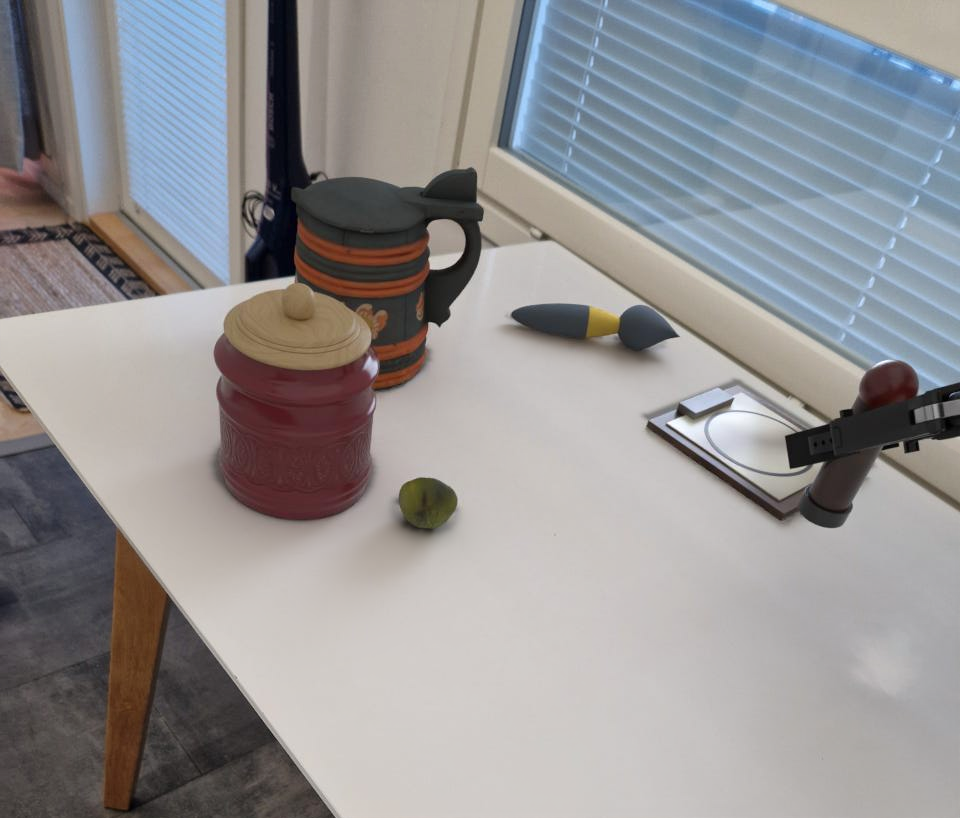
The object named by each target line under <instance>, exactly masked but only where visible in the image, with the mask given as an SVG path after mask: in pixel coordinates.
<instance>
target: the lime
mask: <svg viewBox="0 0 960 818" xmlns="http://www.w3.org/2000/svg"><path fill="white" fill-rule="evenodd" d="M458 501H459V499H458V495H457V494H456V492H455V490H454V489H453V488H452V487H451V485H448V484H447V483H445V482H444V481H441V480H440V479H437V478H434V477H423V476H422V477H421V476H420V477H416V478H414V479H412V480H408V481H406V482H405V483H403V484H402V485H401V487H400V489H399V493H398V506H399V508H400V511H401V513H402V515H403V518H404V519H405V520H406V521H407V522H409V524H411V525H412V526H414V527H416V528H419V529H435V528H438V527H440V526H442V525H444V524H445V523H447V521H449V519H451V517H452V515H453V514H454V512H455V511H456V509H457V506H458V503H459V502H458Z"/></svg>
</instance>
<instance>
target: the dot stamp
mask: <svg viewBox="0 0 960 818" xmlns="http://www.w3.org/2000/svg"><path fill="white" fill-rule="evenodd" d="M919 390H920V380H919V376H918V373H917V371H916V370H915V369H914V367H913V366H911V365H910V364H909V363H908V362H906V361H903V360H900V359H894V358H893V359H892V358H891V359H885V360H881V361H879V362H876V363H875V364H873V365H872V366H870V367H869V368H868V369H867V370H866V372H864V374H863V376H862V377H861V379H860V382H859V388H858V394H857V396H856V398H855V400H854V402H853V404H852V406H851V408H850V409H853V414H854V415H856V414H859V413H863V412H866V411H870V410H873V409H877V408H880V407H884V406H887V405H891V404H894V403H897V402H901V401H904V400H908V399H911V398H913V397H916V396H918V393H919ZM882 448H883V446H881V447H876V448H872V449H868V450H863V451H860V454H856V455H852V456H847V457H843V458H838V459H834V460H830V461H825V462H823V464H822V466H821V468H820V470H819V472H818V474H817V475H816V477H815V479H814V481H813V483H812V484H811V485H809V486H807V487H806V489H805V490H804V492H803V494H802V496H801V498H800V500H799V502H798V512H799V514H800V515H801V516H802V517H803V518H804V519H805V520H807V521H808V522H810V523H812V524H813V525H815V526H818V527H821V528H826V529H837V528H840V527H843V525H844V524H845V523H846V521H847V519H848V518H849V516H850V514H851V513H852V511H853V508H854V504H853V501H854V499H855V498H856V496H857V494H858V492H859V490H860V489H861V487H862V485H863V484H864V481H865V480H866V478H867V477H868V475H869V473H870V471H871V469H872V467H873V466H874V464H875V463H876V461H877V459H878V457H879V455H880V453H881V452H882V451H881V450H882Z"/></svg>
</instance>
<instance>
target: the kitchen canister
mask: <svg viewBox="0 0 960 818" xmlns="http://www.w3.org/2000/svg"><path fill="white" fill-rule="evenodd" d="M222 325H223V326H222V327H223V333H222V334H221V335H220V336H219V338H218V339H217V340H216V343H215V344H214V348H213V359H214V363H215V365H216V368H217V369H218V371H219V372H220V374H221V375H220V376H219V377H218V379H217V382H216V388H215V395H216V399H217V403H218V411H219V412H218V414H219V430H220V431H219V432H220V433H219V434H220V445H219V452H218V455H219V466H220V470H221V474H222V475H223V479H224V483H225V485H226V487H227V489H228V490H229V492H230V493H231V494H232V495H233V496H234V497H235V499H236V500H238V501H239V502H241V503H242V504H244V505H245V506H246V507H249V508H250V509H252V510H254V511H257V512H260V513H262V514H265V515H269V516H272V517H276V518H281V519H289V520H290V519H291V520H311V519H319V518H320V519H321V518H325V517H328V516H333V515H335V514H338V513H341V512H343V511H345V510H347V509H348V508H349V507H351V506H352V505H354V504H355V503H356V502H358V500H359V499H360V498H361V496H362V495H363V494H364V493H365V490H366V487H367V483H368V481H369V479H370V476H371V471H372V468H371V467H372V454H371V448H372V447H371V446H372V435H373V424H374V423H373V422H374V413H375V411H376V408H377V395H376V391H375V389H373V387H372V384H373V382H374V381H375V380H376V378H377V376H378V373H379V369H380V362H379V358H378V355H377V353H376V351H375V350H374V348H373V347H372V346H371V345H370V344H371V331H370V329H369V326H368V325H367V323H366V322H365V321H364V320H363V319H362V318H361V317H360V316H359V315H358V314H356V313H355V312H354V311H352V310H350V309H349V308H347V307H346V306H345V305H344V304H342V303H341V302H339V301H338V300H336V299H334V298H332V297H329V296H327V295H324V294H321V293H317V292H313V290H312V289H311V288H310V287H309V286H307V285H305V284H302V283H291V284H289V285H288V286H287V287H286V288H280V289H279V288H278V289H272V290H267V291H263V292H260V293H257V294H256V295H253V296H252V297H250V298H248V299H246V300H244V301H242V302H241V301H240V302H239V303H238V304H236V305H235V306H233V307H232V308H231V309H230V310H229V311H228V312H227V313H226V315H225V317H224V320H223V324H222Z"/></svg>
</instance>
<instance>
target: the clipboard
mask: <svg viewBox="0 0 960 818" xmlns="http://www.w3.org/2000/svg"><path fill="white" fill-rule="evenodd" d="M645 427H646V428H648V429H649V430H650V431H652V432H654V433H655V434H656V435H658V436H660V437H661V438H662V439H664V440H665V441H666V442H668V443H669V444H671V445H672V446H674V447H675V448H677V449H678V450H679V451H681V452H682V453H683V454H685V455H687V456H688V457H689V458H691V459H692V460H693V461H695V462H696V463H699V465H700V466H702V467H704V468H705V469H707V470H708V471H710V472H711V473H713V474H714V475H715V476H717V477H718V478H720V479H721V480H722V481H724V482H725V483H727V484H728V485H730V487H732V488H734V489H736V490H737V491H738V492H740V493H741V494H742V495H744V496H745V497H747V498H748V499H750V500H751V501H753V502H754V503H756V504H757V505H758V506H760V507H761V508H763V509H764V510H766V511H767V512H769V513H770V514H772V515H773V516H774V517H776V518H777V519H779V520H780V521H782V520H784V519H786V518H788V517H790V516H791V515H793V514H795V513H797V512H799V510H798V502H799V500H800V498H801V496H802V494H803V492H804V490H805V489H806V487H807V486H809V485H811V484H812V483H813V481H814V479H815V477H816V475H817V474H818V472H819V470H820V468H821V466H822V464H823V462H821V463H816V464H812V465H808V466H803V467H799V468H794V469H790V467H789V460H788V454H787V447H786V441H785V436H786V435H789V434H793V433H797V432H800V431H804V430H807V429H808V428H807V427H804V426H803V425H802V424H800V423H799V422H797V421H796V420H794V419H792V418H791V417H789V416H788V415H786V414H784V413H783V412H781V411H779V410H778V409H776V408H775V407H773V406H771V405H770V404H768V403H767V402H765V401H764V400H762V399H760V398H759V397H757V396H755V395H754V394H752V393H750V392H749V391H747V390H746V389H744V388H743V387H741V386H739V384H736V385H733V386H731V387H729V388H726V389H724V390H723V389H721V388H720V387H715V388H713V389H710V390H707V391H705V392H703V393H701V394H700V393H699V394H698V395H695V396H692V397H689V398H687V399H684V400H682V401H680V402H679V403H678V405H677V408H676V409H673V410H671V411H668V412H666V413H663V414H660V415H658V416H655V417H654V418H650V419H648V420H647V423H646V426H645Z"/></svg>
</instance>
